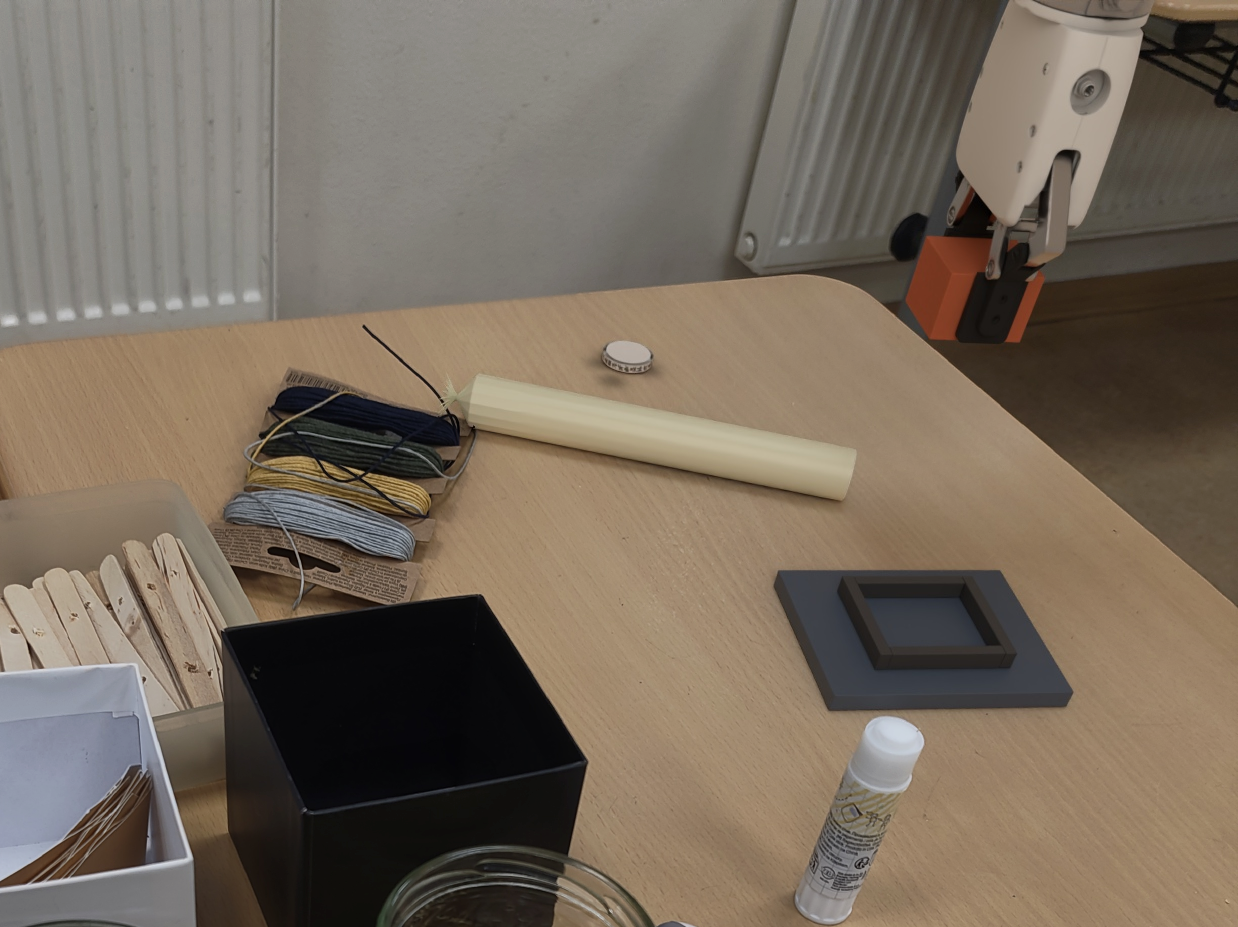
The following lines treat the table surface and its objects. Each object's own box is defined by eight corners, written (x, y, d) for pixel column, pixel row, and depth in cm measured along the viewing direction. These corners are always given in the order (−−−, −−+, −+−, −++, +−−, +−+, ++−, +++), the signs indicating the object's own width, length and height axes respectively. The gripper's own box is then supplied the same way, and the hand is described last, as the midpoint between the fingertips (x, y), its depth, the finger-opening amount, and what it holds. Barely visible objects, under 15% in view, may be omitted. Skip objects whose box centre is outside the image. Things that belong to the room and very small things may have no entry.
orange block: (992, 304, 93) (1017, 239, 90) (1019, 343, 90) (1046, 277, 87) (904, 301, 92) (926, 235, 89) (929, 340, 89) (952, 273, 86)
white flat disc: (597, 366, 113) (599, 358, 113) (606, 343, 116) (608, 335, 115) (647, 377, 113) (649, 369, 113) (655, 353, 115) (657, 345, 115)
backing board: (993, 584, 100) (1007, 554, 98) (1066, 707, 92) (1082, 676, 90) (773, 585, 97) (782, 554, 96) (828, 711, 90) (840, 679, 88)
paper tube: (444, 406, 108) (449, 357, 105) (842, 485, 106) (858, 438, 103) (434, 430, 105) (438, 381, 103) (840, 512, 104) (856, 465, 101)
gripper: (1222, 38, 72) (1069, 390, 86) (1092, -73, 82) (974, 258, 97) (1082, 29, 71) (951, 387, 85) (968, -83, 81) (868, 253, 96)
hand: (964, 315), depth 91 cm, fingers closed on orange block, 5 cm apart
